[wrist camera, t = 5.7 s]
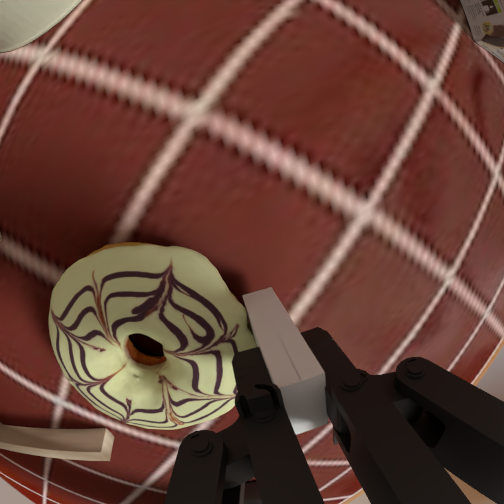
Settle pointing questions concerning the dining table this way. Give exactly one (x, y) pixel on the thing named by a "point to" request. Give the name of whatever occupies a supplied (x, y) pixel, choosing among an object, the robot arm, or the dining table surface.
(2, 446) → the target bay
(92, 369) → the decorated donut
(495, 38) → the coffee box
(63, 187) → the dining table surface
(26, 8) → the can
